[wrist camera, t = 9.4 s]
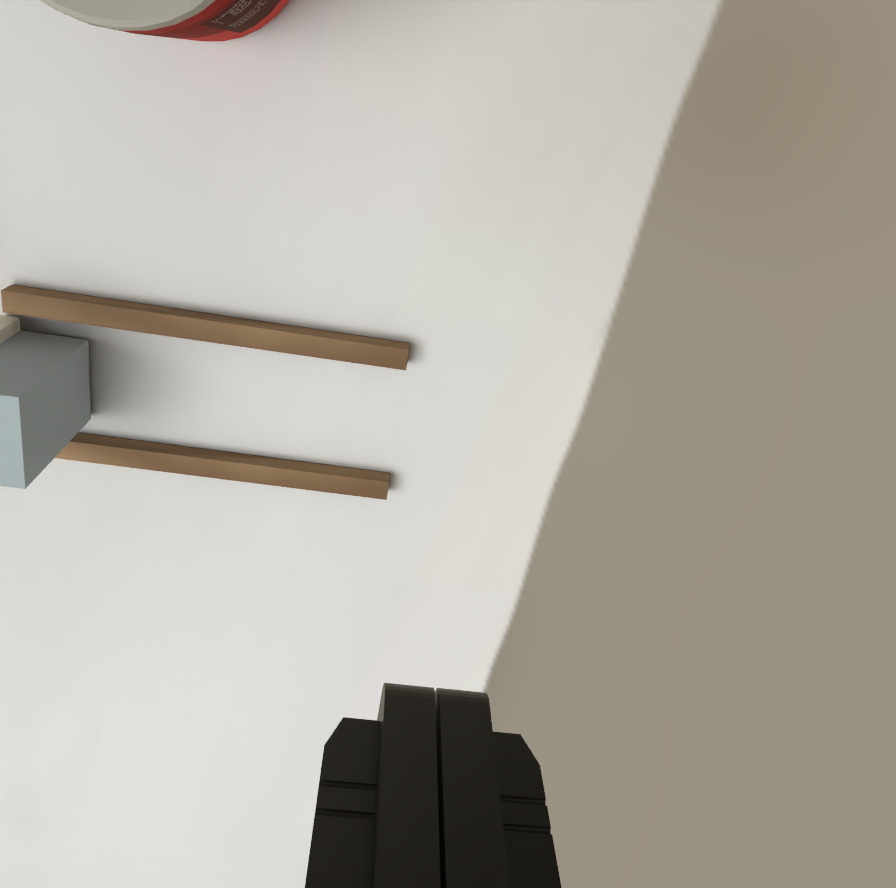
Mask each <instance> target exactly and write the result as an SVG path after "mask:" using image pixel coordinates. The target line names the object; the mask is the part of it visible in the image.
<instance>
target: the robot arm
mask: <svg viewBox="0 0 896 888" xmlns="http://www.w3.org/2000/svg"><path fill="white" fill-rule="evenodd" d="M543 787H544V786H543V781H542V775H541V769H540V765H539V763H538V761H537V760H536V759H535V757H534V755H533V754H532V752H531V750H530V749H529V747H528V746H527V744H526V743H525V741H524V739H523V738H522V736H521V735H520V734H511V733H501V732H493V731H492V722H491V713H490V705H489V698H488V695H487V694H486V693H481V692H471V691H462V690H452V689H442V688H437V689H436V691H434V688H430V687H420V686H410V685H400V684H391V683H384V685H383V689H382V695H381V701H380V707H379V713H378V719H377V721H374V720H364V719H354V718H343V719H342V720H341V722H340V723H339V725H338V726H337V728H336V729H335V731H334V732H333V734H332V735H331V736H330V738H329V739H328V741H327V742H326V744H325V745H324V753H323V760H322V767H321V774H320V782H319V789H318V796H317V804H316V811H315V818H314V825H313V833H312V840H311V847H310V855H309V862H308V869H307V877H306V884H305V888H561V883H560V877H559V872H558V866H557V860H556V855H555V849H554V844H553V838H552V835H551V834H550V828H551V827H550V821H549V815H548V809H547V806H545V799H546V798H545V792H544V788H543Z"/></svg>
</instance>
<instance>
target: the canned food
mask: <svg viewBox="0 0 896 888" xmlns="http://www.w3.org/2000/svg"><path fill="white" fill-rule="evenodd" d="M40 1H42V2H44V3H45V4H47V5H48V6H50V7H52V8H53V9H55V10H57V11H59V12H61V13H63V14H65V15H68V16H70V17H73V18H75V19H78V20H80V21H83V22H85V23H88V24H90V25H94V26H99V27H104V28H109V29H114V30H119V31H124V32H129V33H135V34H144V35H153V36H161V37H170V38H179V39H188V40H196V41H226V40H231V39H235V38H240V37H243V36H245V35H248V34H250V33H252V32H254V31H256V30H258V29H260V28H262V27H263V26H264V25H265V24H267V23H268V22H269V21H271V20H272V19H273V18H274V17H276V16H277V14H278V13H279V12H280V11H281V10H282V8H283V7H284V6H285V5H286V4H287V2H288V1H289V0H40Z"/></svg>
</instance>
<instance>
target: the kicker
mask: <svg viewBox="0 0 896 888" xmlns="http://www.w3.org/2000/svg"><path fill="white" fill-rule="evenodd" d="M90 419H91V410H90V378H89V345H88V340H85V339H78V338H70V337H63V336H56V335H49V334H42V333H35V332H28V331H21V330H20V318H17V317H10V316H3V315H1V316H0V486H6V487H14V488H23V489H26V488H27V486H28V485H29V484H30V483H31V482H32V481H33V480H34V479H35V478H36V477H37V476H38V475H39V474H40V473H41V471H42V470H43V469H44V468H45V467H46V466H47V465H48V464H49V463H50V462H51V461H52V460H53V459H54V458H55V456H56V455H57V454H58V453H59V452H60V451H61V450H62V449H63V448H64V447H65V446H66V445H67V444H68V443H69V441H70V440H71V439H72V438H73V437H74V436H75V435H76V434H77V433H78V432H79V431H80V430H81V429H82V428H83V427H84V425H85V424H86V423H87V422H88V421H89V420H90Z"/></svg>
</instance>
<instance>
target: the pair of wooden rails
mask: <svg viewBox="0 0 896 888" xmlns="http://www.w3.org/2000/svg"><path fill="white" fill-rule="evenodd" d="M1 295H2V307H3V312H4V313H11V314H18V315H25V316H32V317H39V318H46V319H53V320H59V321H66V322H73V323H80V324H87V325H94V326H101V327H108V328H115V329H122V330H129V331H136V332H143V333H150V334H157V335H164V336H171V337H178V338H185V339H192V340H199V341H206V342H213V343H220V344H227V345H234V346H241V347H248V348H255V349H262V350H269V351H276V352H283V353H290V354H297V355H304V356H311V357H318V358H324V359H331V360H338V361H345V362H352V363H359V364H366V365H373V366H380V367H387V368H394V369H401V370H406V367H407V360H408V353H409V343H405V342H398V341H391V340H385V339H378V338H371V337H364V336H357V335H351V334H344V333H337V332H330V331H323V330H317V329H310V328H303V327H296V326H289V325H283V324H276V323H269V322H262V321H255V320H249V319H242V318H235V317H228V316H221V315H215V314H208V313H201V312H194V311H187V310H181V309H174V308H167V307H160V306H153V305H146V304H140V303H133V302H126V301H119V300H112V299H106V298H99V297H92V296H85V295H78V294H72V293H65V292H58V291H51V290H44V289H38V288H31V287H24V286H17V285H10V286H8V287H7V288H5V289H3V290H1ZM55 458H60V459H67V460H75V461H83V462H91V463H99V464H107V465H115V466H123V467H131V468H139V469H147V470H155V471H163V472H171V473H179V474H187V475H195V476H203V477H210V478H218V479H226V480H234V481H242V482H250V483H258V484H266V485H274V486H282V487H290V488H298V489H306V490H314V491H322V492H330V493H338V494H345V495H353V496H361V497H369V498H377V499H385V500H386V499H387V492H388V485H389V474H390V473H386V472H378V471H370V470H362V469H355V468H347V467H339V466H331V465H324V464H316V463H308V462H301V461H293V460H285V459H277V458H270V457H262V456H254V455H247V454H239V453H231V452H223V451H216V450H208V449H200V448H192V447H185V446H177V445H169V444H162V443H154V442H146V441H138V440H131V439H123V438H115V437H107V436H100V435H92V434H84V433H77V434H76V435H75V436H74V437H73V438H72V439H71V440H70V441H69V443H68V444H67V445H66V446H65V447H64V448H63V449H62V450H61V451H60V452H59V453H58V454H57V455H56V456H55Z"/></svg>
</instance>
